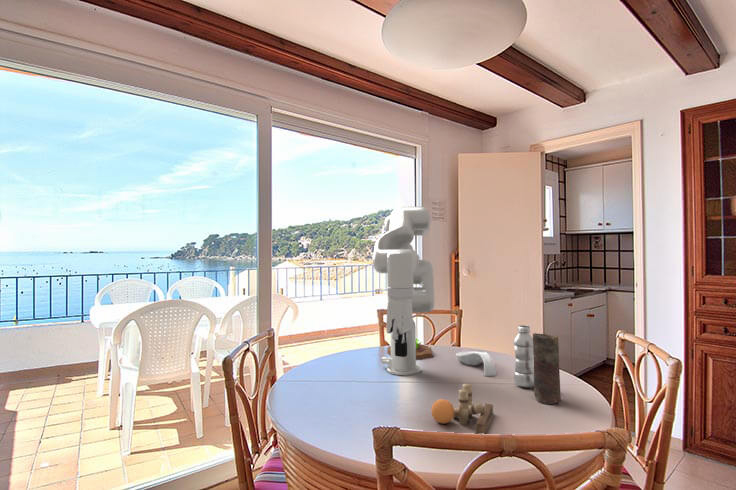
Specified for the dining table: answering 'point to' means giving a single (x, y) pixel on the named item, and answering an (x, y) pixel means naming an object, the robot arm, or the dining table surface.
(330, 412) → the dining table surface
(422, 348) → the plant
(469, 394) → the pin
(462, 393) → the pin
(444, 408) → the ball
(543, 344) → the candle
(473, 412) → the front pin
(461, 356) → the spoon rest
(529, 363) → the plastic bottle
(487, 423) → the brown wooden bar
